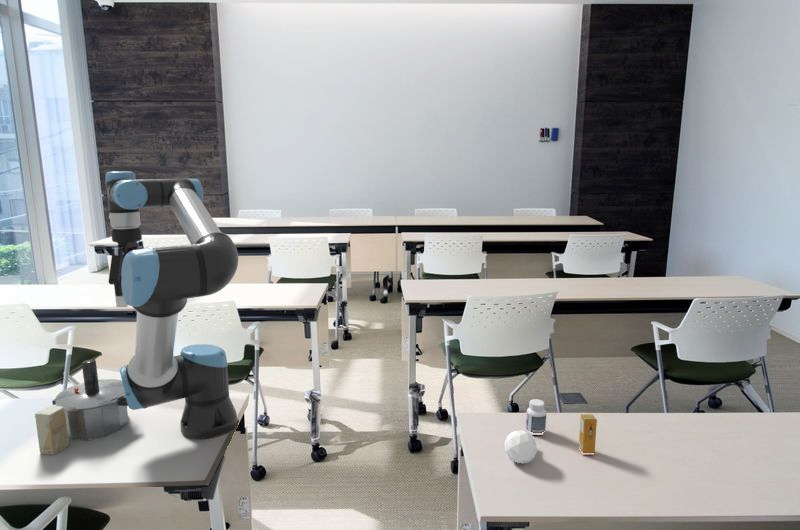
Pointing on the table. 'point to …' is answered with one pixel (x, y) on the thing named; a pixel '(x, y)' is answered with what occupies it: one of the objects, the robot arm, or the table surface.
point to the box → (51, 430)
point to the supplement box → (587, 433)
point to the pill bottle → (536, 416)
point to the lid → (90, 391)
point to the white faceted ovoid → (520, 446)
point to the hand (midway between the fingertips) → (133, 300)
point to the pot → (96, 421)
